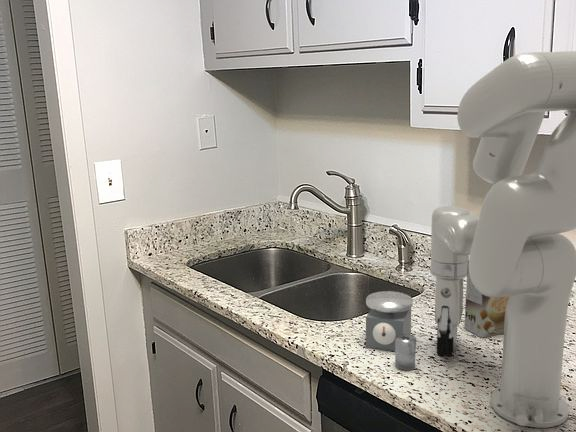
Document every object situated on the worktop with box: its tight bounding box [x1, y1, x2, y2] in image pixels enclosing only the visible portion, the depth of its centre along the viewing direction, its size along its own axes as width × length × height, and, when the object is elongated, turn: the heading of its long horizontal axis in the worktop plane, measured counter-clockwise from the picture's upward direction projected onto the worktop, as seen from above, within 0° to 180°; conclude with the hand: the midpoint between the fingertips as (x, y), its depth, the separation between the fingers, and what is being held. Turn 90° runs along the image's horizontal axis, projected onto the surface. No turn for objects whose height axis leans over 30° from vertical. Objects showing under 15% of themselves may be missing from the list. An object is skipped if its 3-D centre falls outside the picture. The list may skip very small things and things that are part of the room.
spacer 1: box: [394, 334, 417, 372], centre depth 120 cm, size 4×4×6 cm
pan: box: [365, 290, 414, 313], centre depth 131 cm, size 10×10×2 cm
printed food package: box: [463, 264, 510, 339], centre depth 135 cm, size 9×6×16 cm
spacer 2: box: [436, 320, 458, 354], centre depth 127 cm, size 4×4×6 cm
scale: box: [365, 307, 412, 352], centre depth 131 cm, size 11×8×7 cm
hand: (446, 347), depth 127 cm, fingers open, 5 cm apart
